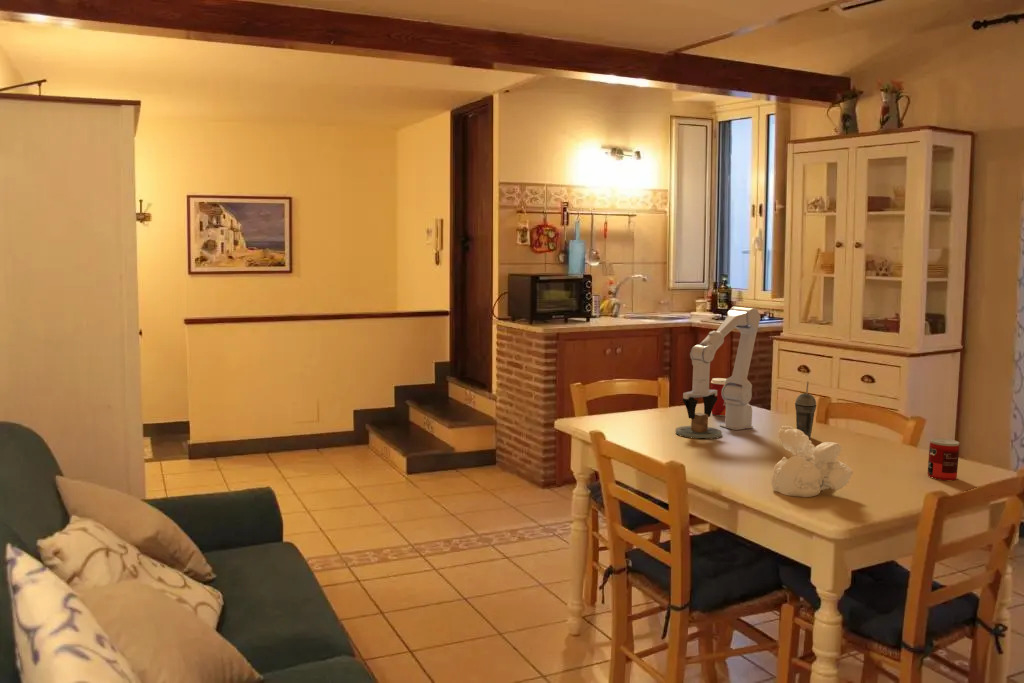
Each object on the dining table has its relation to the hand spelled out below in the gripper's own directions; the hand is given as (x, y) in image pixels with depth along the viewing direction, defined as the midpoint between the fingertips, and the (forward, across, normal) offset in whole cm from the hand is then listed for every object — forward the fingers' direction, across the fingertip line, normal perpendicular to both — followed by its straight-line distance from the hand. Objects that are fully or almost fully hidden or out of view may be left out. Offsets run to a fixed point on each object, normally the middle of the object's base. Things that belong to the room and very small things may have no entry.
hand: (699, 417), depth 320 cm
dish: (+6, 0, 0) cm, 6 cm away
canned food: (+6, +24, -77) cm, 81 cm away
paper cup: (+6, +32, +22) cm, 39 cm away
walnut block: (+5, 0, 0) cm, 5 cm away
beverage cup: (+6, +30, -21) cm, 37 cm away
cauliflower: (+6, -23, -68) cm, 72 cm away
